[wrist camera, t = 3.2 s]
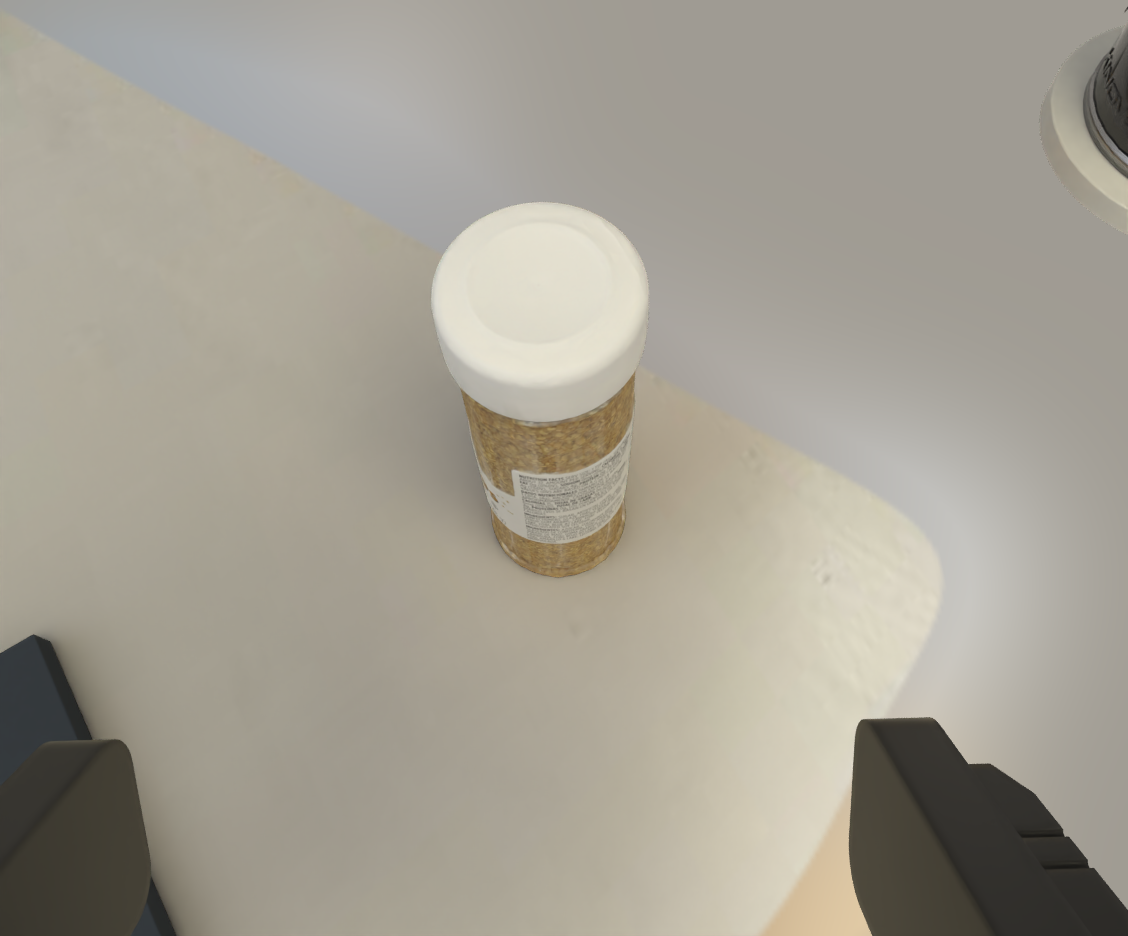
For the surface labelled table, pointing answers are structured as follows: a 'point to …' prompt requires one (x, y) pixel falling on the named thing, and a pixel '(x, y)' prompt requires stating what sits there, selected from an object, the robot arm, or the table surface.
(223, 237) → the table surface
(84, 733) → the mat
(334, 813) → the table surface
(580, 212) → the sprinkles bottle
